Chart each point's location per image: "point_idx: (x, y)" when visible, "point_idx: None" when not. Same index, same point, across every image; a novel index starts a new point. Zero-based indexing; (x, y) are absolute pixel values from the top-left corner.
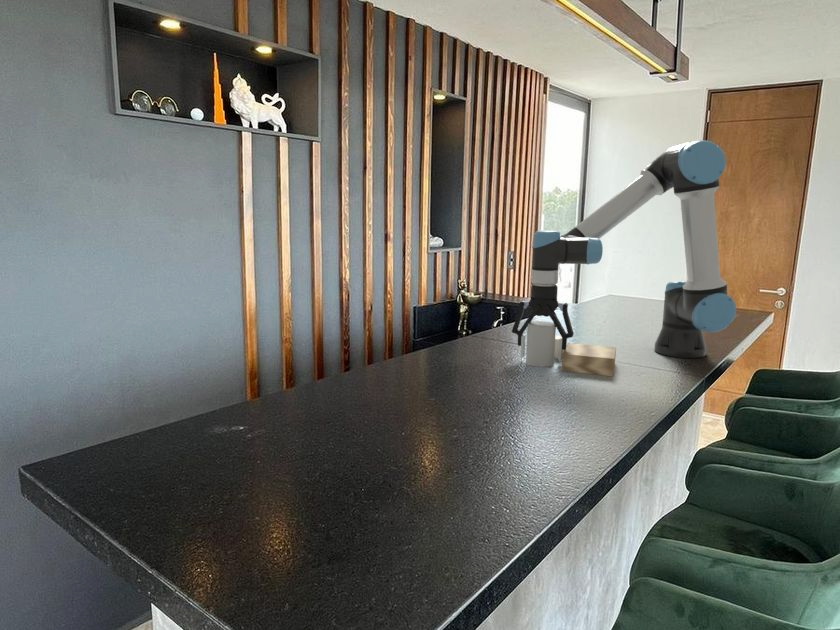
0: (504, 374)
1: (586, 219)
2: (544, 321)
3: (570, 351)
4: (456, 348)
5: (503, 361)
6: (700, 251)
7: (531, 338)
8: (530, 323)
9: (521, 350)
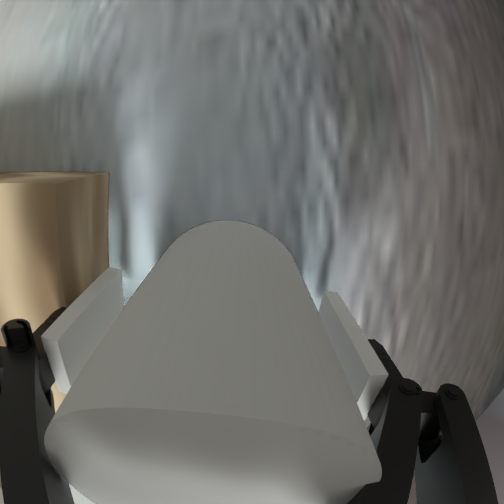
0: (393, 46)
1: None
2: None
3: (29, 265)
4: (496, 373)
5: (405, 275)
6: None
7: (310, 322)
8: (347, 492)
9: (347, 312)
